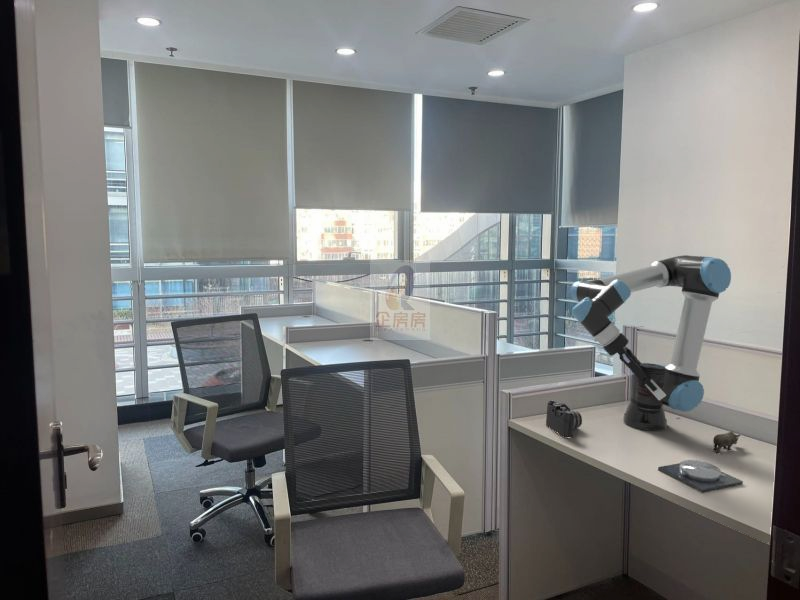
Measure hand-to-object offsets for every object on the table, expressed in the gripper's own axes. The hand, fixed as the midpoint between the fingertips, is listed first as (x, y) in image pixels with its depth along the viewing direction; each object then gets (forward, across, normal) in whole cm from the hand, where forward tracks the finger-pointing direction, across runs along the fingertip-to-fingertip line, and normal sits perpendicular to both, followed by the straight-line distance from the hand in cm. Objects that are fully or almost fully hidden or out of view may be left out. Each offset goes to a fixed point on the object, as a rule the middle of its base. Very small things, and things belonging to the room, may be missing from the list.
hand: (661, 393), depth 185 cm
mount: (+23, +10, -7) cm, 26 cm away
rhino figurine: (+32, -18, +1) cm, 37 cm away
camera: (-5, -16, -36) cm, 40 cm away
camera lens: (+2, 0, -7) cm, 7 cm away
